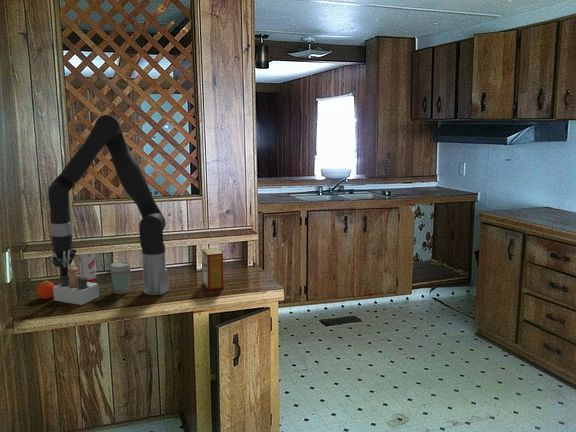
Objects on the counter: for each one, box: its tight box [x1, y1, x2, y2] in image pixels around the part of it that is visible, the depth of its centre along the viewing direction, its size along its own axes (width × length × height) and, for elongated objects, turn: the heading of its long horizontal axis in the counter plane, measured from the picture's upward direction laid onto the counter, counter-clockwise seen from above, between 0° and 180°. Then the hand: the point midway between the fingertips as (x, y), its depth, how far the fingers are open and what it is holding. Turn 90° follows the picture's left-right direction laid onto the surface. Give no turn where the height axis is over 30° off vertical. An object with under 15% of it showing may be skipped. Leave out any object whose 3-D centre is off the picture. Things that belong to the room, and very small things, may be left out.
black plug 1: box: [59, 273, 70, 287], centre depth 210 cm, size 4×4×8 cm
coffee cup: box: [109, 261, 132, 295], centre depth 217 cm, size 8×8×12 cm
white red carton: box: [78, 252, 97, 283], centre depth 228 cm, size 6×6×16 cm
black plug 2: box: [77, 276, 88, 290], centre depth 207 cm, size 4×4×8 cm
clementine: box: [36, 280, 56, 300], centre depth 210 cm, size 8×7×7 cm
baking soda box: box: [201, 247, 224, 291], centre depth 225 cm, size 10×6×16 cm
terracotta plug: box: [68, 266, 79, 288], centre depth 208 cm, size 4×4×8 cm
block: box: [53, 282, 100, 306], centre depth 210 cm, size 14×10×6 cm
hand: (64, 275), depth 209 cm, fingers closed
